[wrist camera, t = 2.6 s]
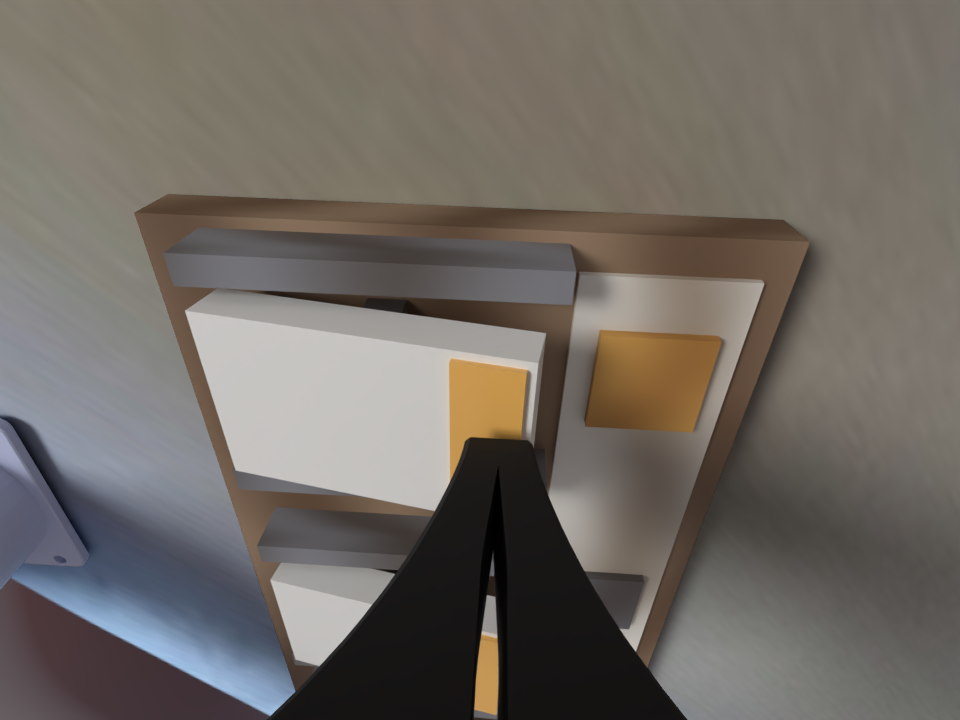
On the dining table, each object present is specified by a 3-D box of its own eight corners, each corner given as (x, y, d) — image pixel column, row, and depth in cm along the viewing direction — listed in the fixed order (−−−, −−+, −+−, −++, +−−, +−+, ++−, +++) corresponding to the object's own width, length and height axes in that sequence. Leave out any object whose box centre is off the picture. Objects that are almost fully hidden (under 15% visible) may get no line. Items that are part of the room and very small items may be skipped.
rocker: (259, 441, 16) (232, 474, 15) (218, 287, 13) (180, 314, 12) (528, 493, 14) (520, 533, 13) (546, 332, 12) (537, 367, 11)
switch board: (318, 702, 30) (299, 768, 27) (167, 194, 14) (90, 237, 12) (609, 722, 29) (618, 792, 27) (783, 220, 14) (845, 270, 11)
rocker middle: (310, 629, 21) (293, 663, 20) (289, 549, 19) (267, 583, 18) (508, 680, 20) (501, 719, 19) (516, 601, 17) (509, 642, 16)
